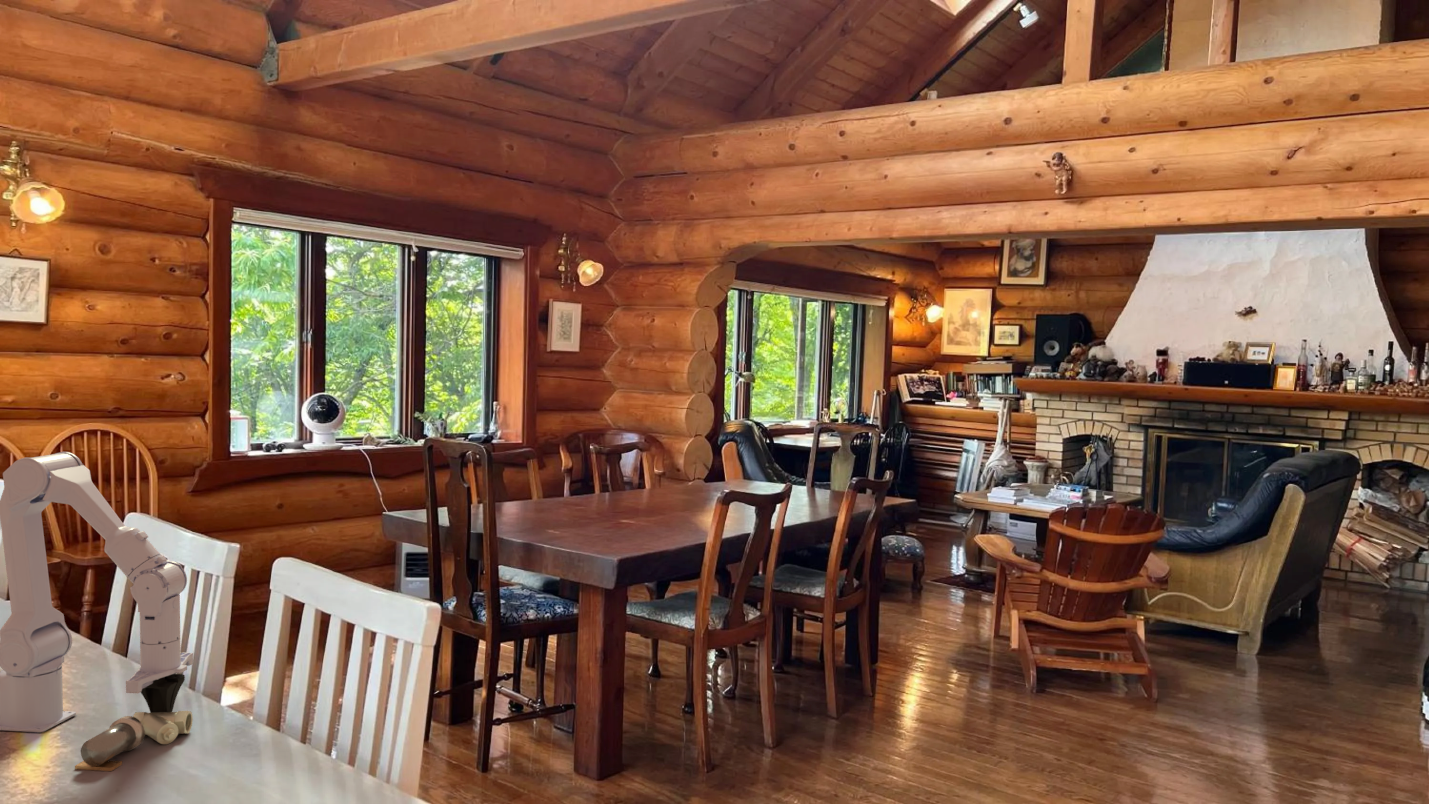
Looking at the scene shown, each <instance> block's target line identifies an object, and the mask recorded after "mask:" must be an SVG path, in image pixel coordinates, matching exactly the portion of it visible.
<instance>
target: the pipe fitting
mask: <svg viewBox="0 0 1429 804" xmlns="http://www.w3.org/2000/svg"><path fill="white" fill-rule="evenodd" d="M132 717H135V718H137V719H138V720H139V721H140V722H141V723H142V724H143V726H144V730H145V736H148V737H149V738H151V739H152V740H154V741H155V742H157V743H159V744H160V745H169V744H171V743H172V742H174V741H175V740H176V738H177V737H178V735H189V734H190V732H191V729H192V726H193V721H194V719H193V712H192V711H190V710H178V711H172V712H159V713H150V712H147V711H138V712H134V714H133V715H132Z"/></svg>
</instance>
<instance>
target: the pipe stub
mask: <svg viewBox="0 0 1429 804" xmlns="http://www.w3.org/2000/svg"><path fill="white" fill-rule="evenodd" d="M145 736H146V735H145V730H144V726H143V724H142V723H141V722H140V721H139V720H138V719H137V718H135V717H133V715H132V716H131V715H127V716H126V715H125V716H122V717H120V718H118V719H117V720H115V721H113V722H112V723H111V724H110V726H109V728H107V729H106V730H104V731H102V732H101V733H98V734H97V735H95V736H92V738H90V739H87V741H85V742H83V744H82V746H81V747H80V755H81V758H82V760H83V761H81V762H79V763H77V764H76V765H74V770H82V771H85V770H86V771H101V772H102V771H104V772H113V771H114V770H116V769H117V768H118V767H121V766H123V761H122V760H111V759H113V758H114V757H116V756H118V755H119V754H121V753H122V752H129V751H132V750H133V749H135V748H137V747H138V746H140V745H141V744H142V743H143V742H144V739H145Z"/></svg>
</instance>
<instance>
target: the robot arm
mask: <svg viewBox="0 0 1429 804" xmlns="http://www.w3.org/2000/svg"><path fill="white" fill-rule="evenodd" d="M2 477H3V478H2V479H3V486H4V487H3V490H2V494H1V495H0V496H1V497H0V527H1V528H0V530H1V535H2V544H3V552H4V561H5V569H6V577H7V583H8V585H7V587H8V596H9V603H10V611H11V614H10V615H9V617H8V618H7V620H6V621H5V623H4V624H3V625H2V627H1V628H0V668H1V671H0V731H7V732H8V731H9V732H28V733H44V732H46V731H48V730H49V729H52V728H54V727H55V726H57V725H60V723H63V722H65V721H66V720H69V719H71V718H73V717H74V716H76V715H77V712H76V711H70V710H69V711H68V710H67V711H66V710H65V711H64V697H63V696H64V693H63V692H64V691H63V688H64V687H63V664H64V663H65V656H66V655H68V653H69V652H70V650H71V648H72V647H73V646H72V645H73V636H72V634H71V631H70V629H69V627H68V626H67V624H66V622H65V621H66V620H65V616H64V615H65V614H64V613H62V612H61V611H60V610H58V609H56V607H54V606H53V602H52V601H53V600H52V594H51V593H52V592H51V585H50V577H49V568H48V560H47V552H46V550H47V549H46V543H45V536H44V535H45V533H44V526H43V524H44V523H43V517H42V512H43V511H44V510H45V509H46V508H47V507H48V506H49V505H50V504H51V503H57V504H64V505H69V506H71V507H72V508H73V510H75V511H76V512H77V514H79V515H80V517H82V519H84V520H85V521H86V522H87V524H89V526H90V527H92V528H93V529H94V531H96V532H97V533H98V534H99V535H100V536H101V537H102V538H103V539H104V540H105V544H104V547H103V548H104V549H103V550H104V553H105V554H106V555H107V556H108V557H109V558H110V559H111V561H112V562H113V563H114V564H115V565H116V566H117V567H118V569H119V570H120V571H121V572H122V573H123V574H124V575H125V577H126V578H127V579H128V580H129V581H130V583H132V586H130V587H129V589H130V591H129V592H130V594H131V596H132V598H133V599H134V601H135V602H136V603H137V608H138V609H137V612H138V613H139V648H140V649H139V650H140V651H139V653H140V658H139V659H140V666H139V668H138V669H137V670H136V671H135V673H134V674H133V675H132V676H130V678H129V679H126V681H125V694H141V695H142V696H143V698H144V700H145V702H146V704H147V707H148V709H149V713H159V712H174V711H173V710H174V706H175V703H176V699H177V697H178V696H177V695H178V694H179V692H180V689H181V688H182V687H181V686H182V685H183V684H184V682H185V678H186V677H185V674H182V673H183V672H184V673H185V671H187V670H188V667H189V666H190V667H191V666H192V665H194V653H193V652H181V649H182V648H181V600H180V599H181V596H180V594H181V593H182V592H183V591H184V590H185V588H186V586H187V583H188V577H187V574H186V571H185V570H184V568H183V566H182V565H181V564H180V563H179V562H176V561H174V560H169V559H167V558H166V557H165V556H164V555H162V554H161V553H160V552H159V551H158V549H156V547H154V545H153V543H151V541H149V540H148V538H149V535H148V534H147V533H146V532H145V531H144V530H142V531H141V530H140V529H139V528H138V527H131V526H127V525H125V524H124V523H123V521H122V520H121V518H120V517H119V516H118V514H117V513H116V512H115V511H114V509H113V508H112V507H111V505H110V504H109V502H108V500H106V498H105V497H104V496H103V494H102V493H101V492H100V491H99V489H98V488H97V487H96V484H94V483H93V481H92V475H91V470H90V469H89V468H88V467H86V466H85V465H84V464H83V463H82V460H81V459H80V458H79V457H78V456H77V455H76V454H74V453H72V452H69V451H60V452H56V453H53V454H46V455H40V456H34V457H22V458H18V459H17V460H15V461H14V462H12V464H11V465H10V466H8V468H6V469H5V470H4V471H3V472H2Z"/></svg>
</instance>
